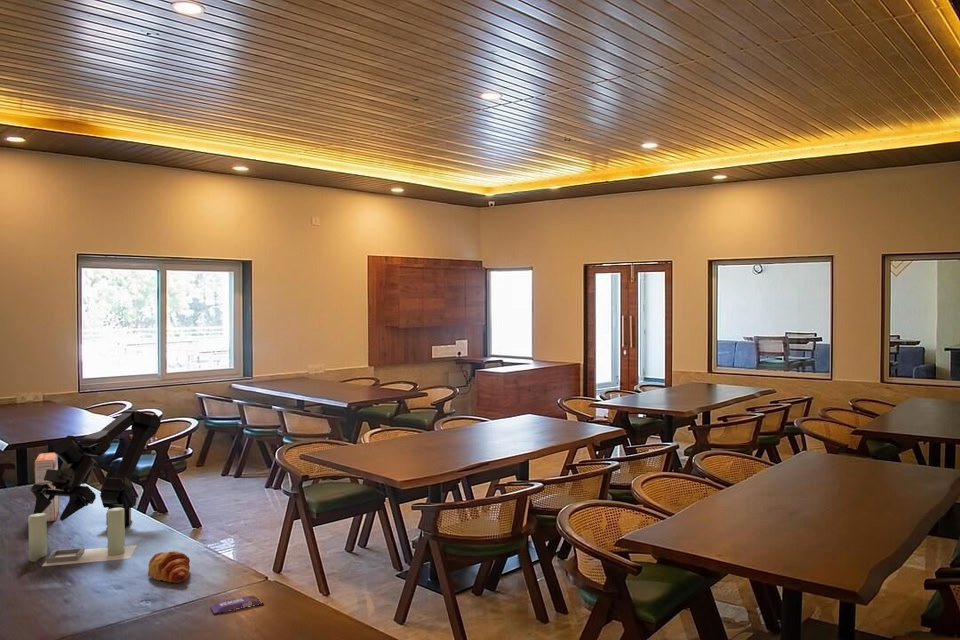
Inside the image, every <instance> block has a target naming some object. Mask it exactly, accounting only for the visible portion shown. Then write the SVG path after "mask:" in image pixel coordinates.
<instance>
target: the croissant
mask: <svg viewBox="0 0 960 640" xmlns="http://www.w3.org/2000/svg"><path fill="white" fill-rule="evenodd" d="M190 559H191V558H190V557H189V556H188V555H186V554H185V553H184V552H180V551H177V550H176V551H175V550H173V551H165V552H159V553H155V554H154V555H153V556H152V557H151V558H150V560H149V563H148V571H147V575H148V576H149V577H151V576H152V578H153V579H154V580H156V579H158V580H157V581H160V580H163V581H162V582H167V581H168V583H171V582H173V583H174V584H178V583H181V582H184V581H185V580H186V579H187V578H188V577H189V575H190V562H191V560H190Z"/></svg>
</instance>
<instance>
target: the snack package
mask: <svg viewBox="0 0 960 640" xmlns="http://www.w3.org/2000/svg"><path fill="white" fill-rule="evenodd" d="M257 597H258V596H255V595H246V596H242V597H235V598H231V599H225V600H220V601H218V602H216V604H213V605H210V608H211V611H212V613H213V614H222V613H221V612H224V613H226V612H225V611H229V610H233V609H236V608H241V607H242V608H243V607H248V606H253V605H258V604H261V605H263V604H262V603H261V602H260V601H259V599H258V598H257ZM229 612H230V611H229Z"/></svg>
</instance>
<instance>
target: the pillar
mask: <svg viewBox="0 0 960 640" xmlns="http://www.w3.org/2000/svg"><path fill="white" fill-rule="evenodd" d="M27 518H28V519H27V520H28V560H29V562H32V563H35V562H37V561H38V560H39V559H41V558H44V557H46V556H48V523H47V514H45V513H38V514H34V513H33V514H30V515H28V517H27Z"/></svg>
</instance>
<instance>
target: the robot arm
mask: <svg viewBox="0 0 960 640" xmlns="http://www.w3.org/2000/svg"><path fill="white" fill-rule="evenodd" d="M161 423H162V422H161V419H160V417H159V415H158V414H155V413H154V414H153V413H152V414H151V413H149V414H148V413H145V412H141V411H139V410H135V409H126V410H123V411H122V412H121V414H120V415H118V417H116V418H114V420H112V421H111V422H110V423H109V424H107V425H106V426H104V427H103V428H102V429H101V430H99V431H96V432H92V433H89V434H88V435H86V436H83V437H82V438H81V439H80V440H79V441H78V440H77V438H76V437H75V436H74V435H67V436H66V437H65V438H62V439H60V440H59V441H58V442H57V443H54V446H53V447H52V448H53V449H52V451H53V453H55V454H56V455H57V456H58V458H59V459H60V460H61V461H62V462H63V463H64V464H65V465H68V467H67V468H66V467H65V468H63V469H61V470H60V469H58V470H50V469H47V471H46V474H45V477H44V481H50V482H52V485H53V486H55V487H56V488H55V489H52V488H51V487H50V486H49V485H48V484H42V483H37V484H35V483H34V484H33V486H31V488H30V489H29V490H30V492H31V493H32V495H33V496H35V506H34V509H33V514H38V513H42V512H43V511H44V510H45V509H46V508H47V507H48V506H49V505H50V504H51V503H52V502H51V500H52V499H54V497H55V496H59V497H66V498H69V499H68V502H67V504H66V506H65V508H64V510H63V511H62V513H61V514H60V517H59V520H60V521H61V522H63V521H65V520H66V519H68V518H69V517H70V516H72V515H73V514H75V513H77V512H79V510H81V509H83V508H84V507H88V506H89V505H90V504H91V505H92V504H94V502H95V500H96V498H97V497H96V496H97V495H96V493H94V491H93V489H91V488H90V487H89V486H87V485H85V484H86V482H87V480H86V479H85V478H86V477H87V476H88V474H89V472H90V470H91V469H98V468H99V465H98V462H97V459H96V458H95V459H94V458H92V457H91V456H93V457H101V456H103V455H104V454H105V453H107V451H108V450H109V449H110V448H111V446H112V445H111V444H112V442H113V441H114V440H115V439H117V438H118V437H119V436H120V435H122V434H123V433H124V432H125V431H126V430H127V429H129V428H131V429H130V430H131V434H132V436H131V438H130V441H129V443H128V445H127V447H126V450H125V452H124V455H123V456H122V459H121V461H120V463H119V466H118V468H117V470H116V473H115V474H114V476H112V477H106V479H104V483H103V485H102V487H101V488H100V490H101V491H100V493H99V496H100V500H101V502H102V503H101V504H102V506H103V508H107V510H109V509H112V508H124V526H125V528H129V527H130V526H131V524H132V523H133V520H132V509H133V508H134V507H135V506H136V504H137V498H136V497H135V496H134V495H133V494H132V490H133V487H132V481H131V480H132V478H133V475H134V473H135V471H136V468H137V466H138V463H139V461H140V459H141V456H142V454H143V452H144V450H145V447H146V445H147V443H148V441H149V440H151V438H152V437H154V436H155V435H156V433H157V432H158V430H159V428H160V427H161ZM84 485H85V486H84ZM105 515H106V516H105V518H106V520H107V512H106V514H105Z"/></svg>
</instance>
